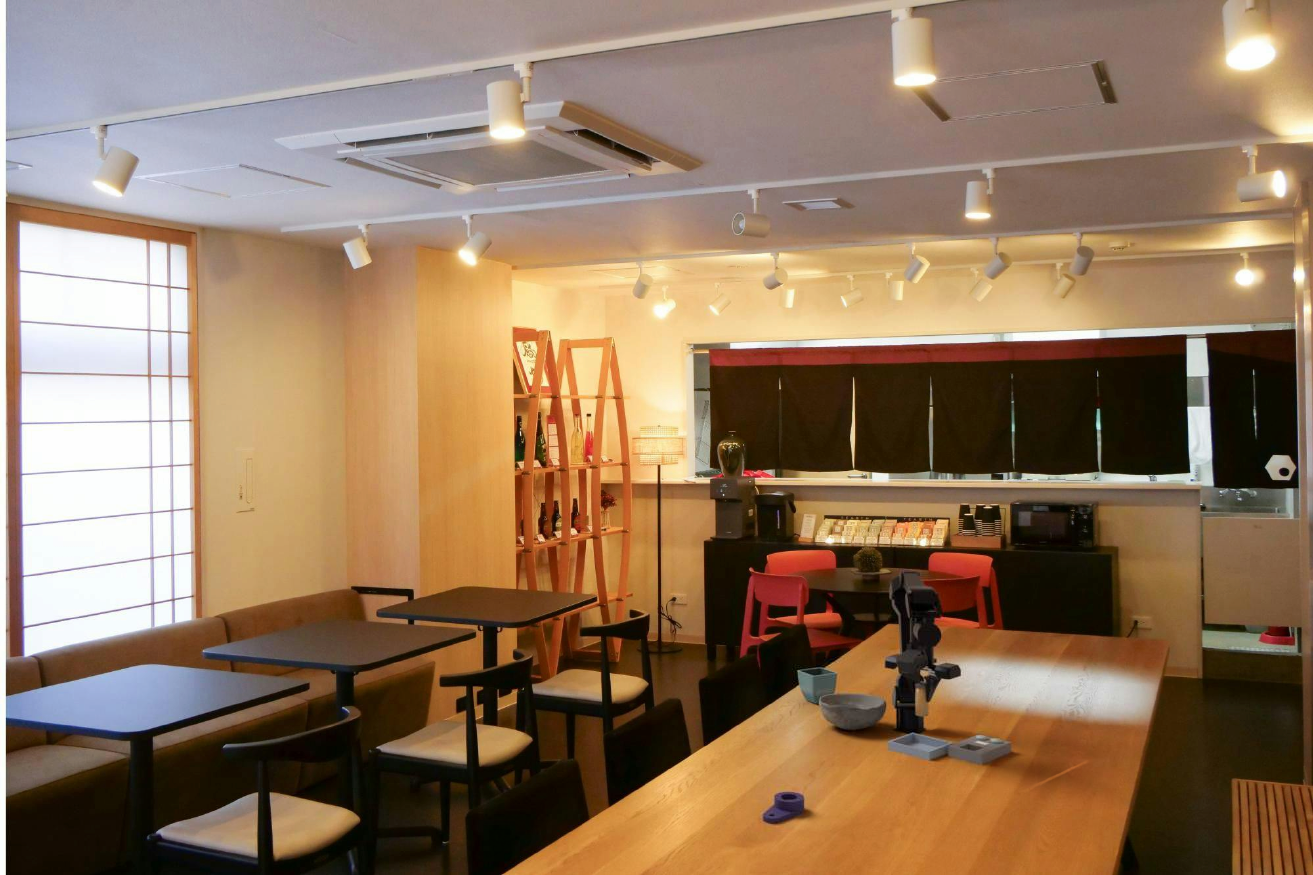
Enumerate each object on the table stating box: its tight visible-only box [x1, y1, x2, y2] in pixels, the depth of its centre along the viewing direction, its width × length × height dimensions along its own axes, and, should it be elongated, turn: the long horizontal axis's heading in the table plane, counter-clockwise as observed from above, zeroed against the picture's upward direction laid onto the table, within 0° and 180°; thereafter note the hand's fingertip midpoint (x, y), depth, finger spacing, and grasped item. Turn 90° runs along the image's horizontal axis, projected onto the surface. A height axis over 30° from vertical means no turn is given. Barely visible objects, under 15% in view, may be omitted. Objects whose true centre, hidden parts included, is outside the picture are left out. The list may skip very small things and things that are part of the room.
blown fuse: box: [915, 680, 930, 718], centre depth 265 cm, size 3×3×8 cm
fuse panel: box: [947, 734, 1012, 766], centre depth 261 cm, size 9×14×4 cm, turn 133°
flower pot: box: [797, 667, 838, 705], centre depth 315 cm, size 9×9×9 cm
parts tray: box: [887, 733, 955, 761], centre depth 265 cm, size 12×11×2 cm
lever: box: [762, 791, 805, 825], centre depth 223 cm, size 12×6×3 cm, turn 142°
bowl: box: [818, 692, 887, 731], centre depth 287 cm, size 18×18×8 cm
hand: (922, 700), depth 265 cm, fingers closed on blown fuse, 3 cm apart
